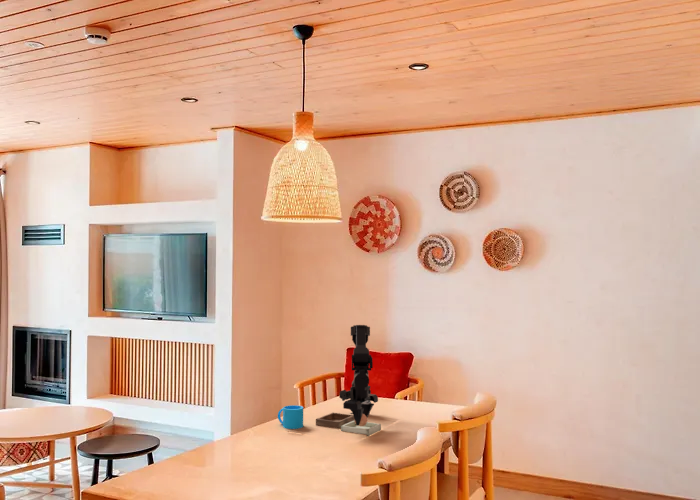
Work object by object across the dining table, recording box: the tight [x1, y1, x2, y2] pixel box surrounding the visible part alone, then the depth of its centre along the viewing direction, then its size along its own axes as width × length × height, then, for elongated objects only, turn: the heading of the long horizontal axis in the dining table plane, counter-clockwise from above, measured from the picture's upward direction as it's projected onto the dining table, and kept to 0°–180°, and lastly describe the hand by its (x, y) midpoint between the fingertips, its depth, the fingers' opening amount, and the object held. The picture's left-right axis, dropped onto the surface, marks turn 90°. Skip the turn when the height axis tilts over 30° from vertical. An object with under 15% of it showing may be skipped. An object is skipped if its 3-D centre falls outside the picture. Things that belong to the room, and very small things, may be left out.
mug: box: [277, 404, 304, 430], centre depth 249 cm, size 12×8×8 cm
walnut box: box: [315, 412, 355, 429], centre depth 253 cm, size 14×11×3 cm
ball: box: [355, 414, 368, 426], centre depth 243 cm, size 5×5×5 cm
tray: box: [340, 420, 382, 437], centre depth 243 cm, size 11×12×2 cm
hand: (360, 423), depth 243 cm, fingers closed on ball, 5 cm apart
